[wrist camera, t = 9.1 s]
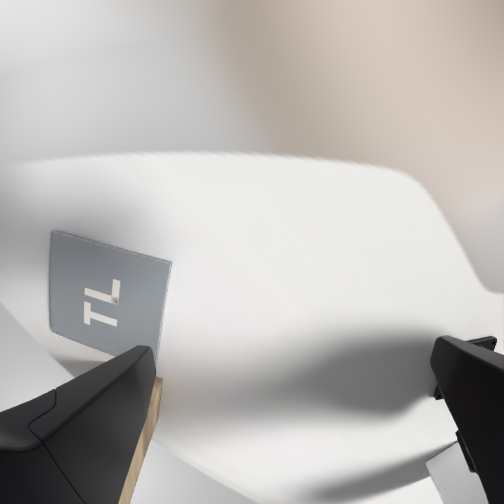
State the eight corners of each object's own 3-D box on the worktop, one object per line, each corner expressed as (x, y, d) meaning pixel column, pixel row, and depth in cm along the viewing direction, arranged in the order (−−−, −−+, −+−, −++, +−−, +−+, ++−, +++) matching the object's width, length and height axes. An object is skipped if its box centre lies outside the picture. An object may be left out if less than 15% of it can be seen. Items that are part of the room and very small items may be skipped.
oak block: (162, 378, 24) (118, 498, 12) (158, 416, 25) (123, 525, 13) (108, 362, 24) (42, 465, 12) (109, 401, 25) (58, 499, 13)
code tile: (172, 262, 21) (170, 264, 21) (156, 364, 24) (154, 368, 23) (56, 230, 21) (51, 232, 20) (54, 328, 23) (51, 331, 22)
